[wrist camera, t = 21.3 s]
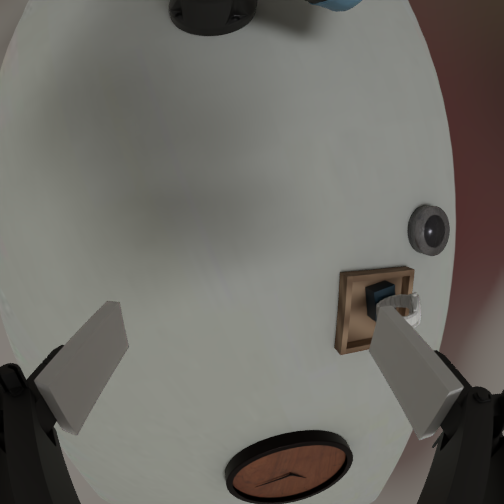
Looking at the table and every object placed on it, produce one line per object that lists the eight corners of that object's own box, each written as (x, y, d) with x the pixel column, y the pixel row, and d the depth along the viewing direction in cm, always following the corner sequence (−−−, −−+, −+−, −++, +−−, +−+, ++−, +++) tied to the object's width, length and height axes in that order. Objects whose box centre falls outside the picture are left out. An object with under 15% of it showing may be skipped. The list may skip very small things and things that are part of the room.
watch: (395, 304, 45) (431, 326, 34) (358, 318, 45) (391, 346, 34) (393, 276, 44) (433, 294, 33) (356, 289, 43) (391, 312, 33)
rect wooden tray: (340, 272, 43) (347, 276, 40) (405, 266, 45) (414, 269, 42) (334, 347, 46) (340, 355, 43) (396, 334, 47) (404, 340, 44)
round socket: (411, 201, 43) (421, 201, 40) (442, 211, 44) (452, 212, 41) (404, 250, 44) (414, 252, 41) (435, 255, 45) (445, 258, 42)
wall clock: (369, 429, 47) (334, 494, 52) (362, 419, 51) (330, 485, 56) (226, 447, 43) (226, 507, 48) (225, 434, 47) (225, 497, 52)
